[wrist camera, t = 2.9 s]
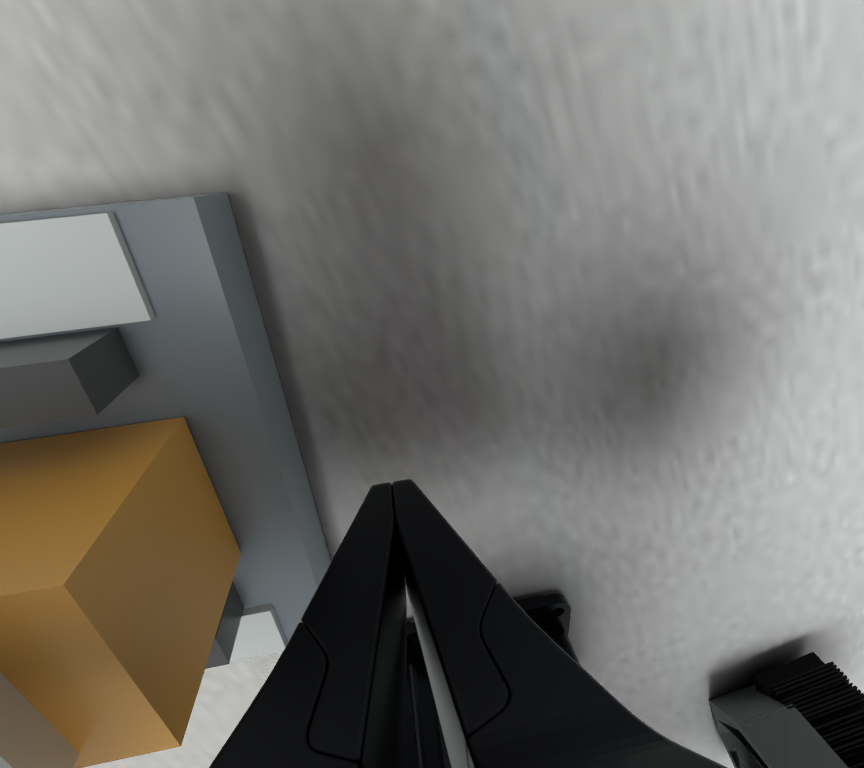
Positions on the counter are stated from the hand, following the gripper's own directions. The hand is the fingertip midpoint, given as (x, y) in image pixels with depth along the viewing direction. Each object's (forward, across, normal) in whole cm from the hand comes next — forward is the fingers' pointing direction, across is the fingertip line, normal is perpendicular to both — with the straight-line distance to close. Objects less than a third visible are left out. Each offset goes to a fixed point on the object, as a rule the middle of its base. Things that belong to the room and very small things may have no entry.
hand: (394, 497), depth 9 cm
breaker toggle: (+1, +6, 0) cm, 6 cm away
